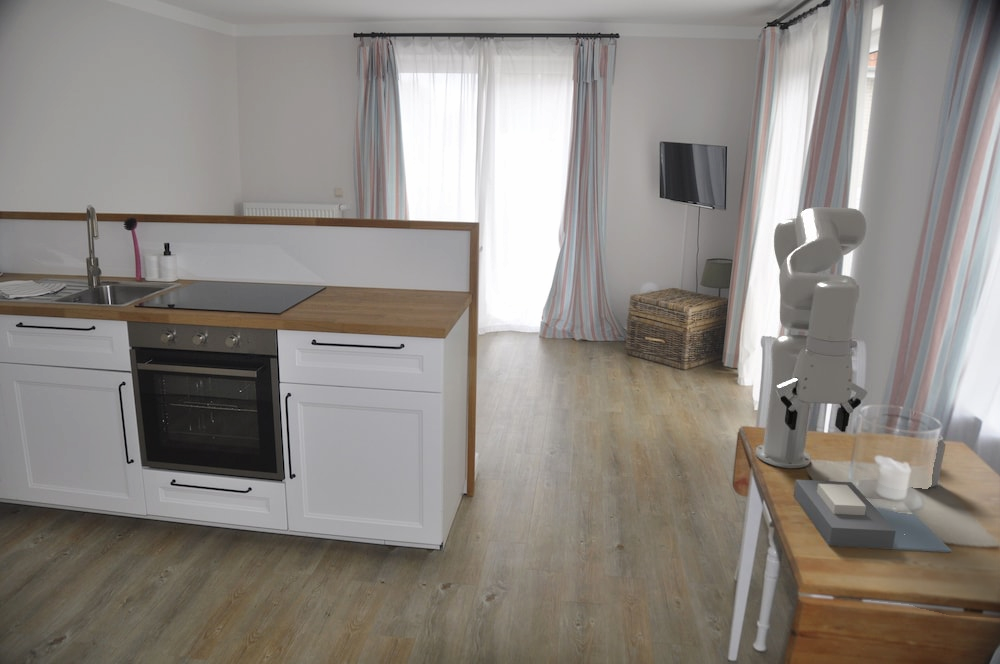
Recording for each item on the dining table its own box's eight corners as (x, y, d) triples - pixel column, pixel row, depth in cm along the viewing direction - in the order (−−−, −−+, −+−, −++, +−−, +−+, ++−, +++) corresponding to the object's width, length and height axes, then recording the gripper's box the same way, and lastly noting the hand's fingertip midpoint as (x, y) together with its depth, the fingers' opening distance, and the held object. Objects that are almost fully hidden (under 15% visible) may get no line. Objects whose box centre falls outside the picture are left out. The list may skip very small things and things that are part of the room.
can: (942, 491, 158) (952, 442, 154) (906, 487, 159) (916, 439, 156) (929, 476, 165) (939, 429, 162) (895, 473, 166) (904, 426, 163)
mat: (848, 498, 153) (849, 497, 153) (900, 501, 153) (900, 499, 153) (892, 549, 134) (892, 547, 134) (951, 552, 133) (951, 550, 133)
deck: (793, 495, 154) (795, 479, 153) (848, 498, 153) (851, 482, 152) (828, 545, 135) (831, 527, 134) (892, 549, 134) (895, 530, 133)
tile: (816, 492, 148) (818, 483, 147) (845, 493, 147) (847, 484, 147) (833, 513, 139) (835, 504, 138) (864, 515, 138) (866, 506, 138)
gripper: (864, 341, 136) (851, 422, 141) (775, 339, 137) (765, 419, 142) (883, 353, 129) (868, 437, 134) (788, 350, 130) (777, 434, 134)
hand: (815, 428), depth 138 cm, fingers open, 9 cm apart
